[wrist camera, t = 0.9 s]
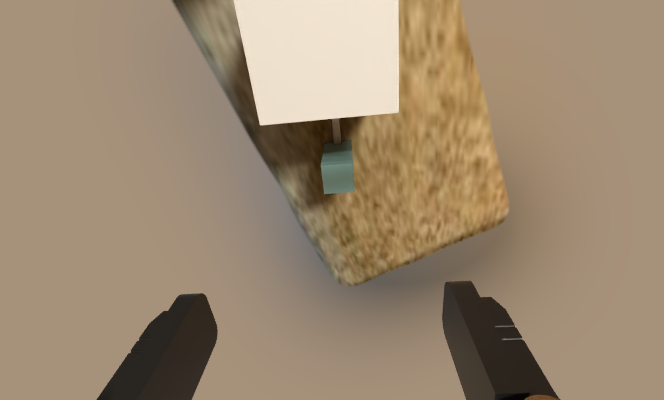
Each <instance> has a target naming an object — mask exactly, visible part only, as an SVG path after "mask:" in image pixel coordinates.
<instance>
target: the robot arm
mask: <svg viewBox="0 0 664 400" xmlns="http://www.w3.org/2000/svg"><path fill="white" fill-rule="evenodd" d="M443 301H444V302H443V314H442V320H443V329H444V334H445V337H446V340H447V343H448V346H449V349H450V352H451V355H452V358H453V361H454V364H455V367H456V370H457V373H458V376H459V379H460V382H461V385H462V388H463V391H464V394H465V397H466V400H560V399H559V398H558V396H557V395H556V393H555V392H554V391H553V389H552V387H551V386H550V384H549V382H548V380H547V379H546V377H545V375H544V374H543V372H542V370H541V368H540V367H539V365H538V364H537V362H536V360H535V358H534V357H533V355H532V353H531V352H530V350H529V348H528V347H527V345H526V343H525V341H523V340H522V336H521V335H520V333H519V331H518V330H517V328H515V325H514V323H513V321H512V319H511V318H510V316H509V314H508V313H507V311H506V309H504V308H503V307H502V306H501V305H500V304H499V303H497V302H496V301H495V300H494V299H493V298H492V297H480V296H479V294H478V292H477V290H476V288H475V287H474V285H473V283H472V282H471V281H456V282H446V283H445V287H444V300H443ZM216 340H217V325H216V322H215V319H214V316H213V313H212V311H211V308H210V305H209V303H208V300H207V297H206V296H205V295H204V294H202V293H201V294H182V295H179V296H178V297H177V298H176V300H175V301H174V303H173V304H172V306H171V307H170V309H169V310H168V311H163V312H162V313H161V314H160V315H159V316H158V317H156V318H155V319H154V320H153V321H152V322H151V323H150V324H149V325H148V326H147V328H146V329H145V331H144V332H143V334H142V335H141V336H140V338H139V341H137V342H136V344H135V345H134V346H133V348H132V350H131V353H129V354H128V355H127V357H126V358H125V360H124V361H123V362H122V364H121V365H120V367H119V368H118V370H117V371H116V373H115V374H114V375H113V377H112V378H111V380H110V381H109V383H108V384H107V386H106V387H105V388H104V390H103V391H102V393H101V394H100V396H99V397H98V398H97V400H192V397H193V395H194V392H195V390H196V388H197V386H198V383H199V381H200V379H201V376H202V374H203V372H204V369H205V367H206V365H207V362H208V360H209V358H210V355H211V353H212V351H213V348H214V346H215V344H216Z"/></svg>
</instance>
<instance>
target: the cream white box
mask: <svg viewBox="0 0 664 400" xmlns="http://www.w3.org/2000/svg"><path fill="white" fill-rule="evenodd" d="M234 4H235V9H236V14H237V18H238V23H239V28H240V33H241V37H242V42H243V47H244V52H245V56H246V61H247V66H248V71H249V75H250V80H251V85H252V90H253V94H254V99H255V104H256V109H257V114H258V118H259V123H260V125H271V124H281V123H292V122H303V121H313V120H324V119H335V118H346V117H356V116H367V115H378V114H388V113H399V53H398V0H234Z"/></svg>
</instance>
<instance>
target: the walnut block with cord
mask: <svg viewBox="0 0 664 400" xmlns="http://www.w3.org/2000/svg"><path fill="white" fill-rule="evenodd" d="M332 127H333V137H334V142H326V143H325V144H324V149H323V155H322V161H321V173H322V181H323V188H324V194H331V193H345V192H355V189H354V173H353V159H352V145H351V140H349V141H341V133H340V122H339V118H335V119H332Z"/></svg>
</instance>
